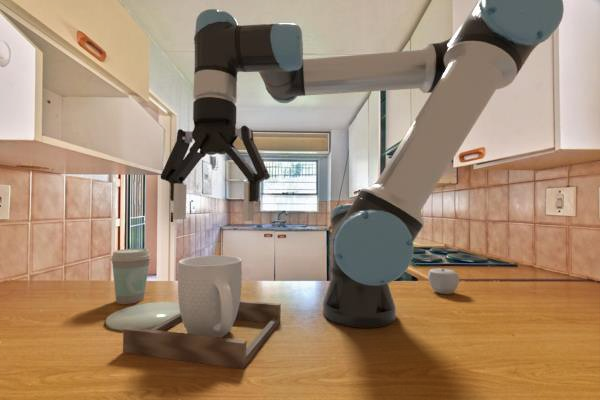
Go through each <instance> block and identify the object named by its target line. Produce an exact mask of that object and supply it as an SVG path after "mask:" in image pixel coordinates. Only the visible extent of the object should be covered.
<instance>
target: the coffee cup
mask: <svg viewBox="0 0 600 400" xmlns="http://www.w3.org/2000/svg"><path fill="white" fill-rule="evenodd" d="M151 258H152V254H151V253H150V250H149V249H148V248H125V249H118V250H114V251H113V254H112V256H111V259H110V261H111V263H112V272H113V273H112V274H113V275H112V276H113V284H114V294H115V303H117V304H119V305H129V304H130V305H131V304H136V303H140V302H142V301H143V300H145V293H146V287H147V282H148V281H147V279H148V273H149V266H150V260H151Z"/></svg>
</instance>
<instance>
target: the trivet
mask: <svg viewBox="0 0 600 400" xmlns="http://www.w3.org/2000/svg"><path fill="white" fill-rule="evenodd" d="M179 313H180V308H179V302H172V301H171V302H170V301H158V302H155V301H154V302H147V303H140V304H136V305H135V304H134V305H131V306H128V307H127V306H126V307H124V308H122V309H121V308H120V309H119V310H117V311H115V312H112V313H111V314H109V315H108V316H107V317H106V319H105V325H106V327H107V328H108V329H110V330H113V331H117V330H118V332H123V329H125V328H127V327H135V328H143V329H152V328H154V327H156V326H157V325H159V324H161V323H163V322H165V321H167V320H168V319H170V318H172V317H174V316H176V315H177V314H179Z"/></svg>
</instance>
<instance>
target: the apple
mask: <svg viewBox="0 0 600 400" xmlns="http://www.w3.org/2000/svg"><path fill="white" fill-rule="evenodd" d="M427 277H428V283H429V285H430V287H431V288H432V289H433V291H434V292H435V293H437V294H441V295H442V294H443V295H450V294H453V293H455V291H456V290H457V289H458V286H459V283H460V278H459V275H458V273H457V272H456V271H455V270H453V269H449V268H443V267H442V268H441V267H437V268H436V267H435V268H431V269H429V271H428V274H427Z"/></svg>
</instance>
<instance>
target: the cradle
mask: <svg viewBox="0 0 600 400" xmlns="http://www.w3.org/2000/svg"><path fill="white" fill-rule="evenodd" d="M281 306H282V305H281V303H277V302H276V303H274V302H265V301H264V302H262V301H253V300H241V299H240V304H239V308H238V312H237V316H236V319H235V320H240V321H248V322H249V321H251V322H260V323H267V324H266V325H265V326H264V328H263V329H262V330H261V331H260V332H259V334H258V335H256V336H255V338H254V339H253V340H252V341H251V342H250V343H249V345H247V340H245V339H238V338H229V337H212V336H204V335H195V334H188V333H186V332H177V331H176V332H175V331H168V330H169V329H171V328H172V326H173V327H174V326H176V325H177V323H178V324H179V323H181V322H183V321H182V317H181V313H179V314H177V315H176V316H174V317H172V318H170V319H168V320H167V321H165V322H163V323H161V324H159V325H157V326H156V327H154V328H152V329H143V328H135V327H127V328H125V329H123V331H122V332H123V333H122V334H123V336H122V337H123V338H122V352H123V353H125V354H127V353H128V354H133V355H141V356H147V357H154V358H162V359H168V360H170V359H171V360H178V361H183V362H191V363H197V364H206V365H212V366H217V367H218V366H220V367H227V368H234V369H241V370H244V369H245V367H246V366H248V364H249V362H250V361H251V360H252V359H253V357H254V356H255V354H257V352H258V351H259V350H260V348H261V347H262V346H263V344H265V342H266V341H267V339H268V338H269V337H270V336H271V335H272V333H273V332H274V330H275V329H276V328H277V327H278V326H279V324H280V323H281V314H282V313H281V311H282V310H281ZM180 321H181V322H180ZM170 327H171V328H170ZM167 329H168V330H167ZM165 330H166V331H165Z"/></svg>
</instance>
